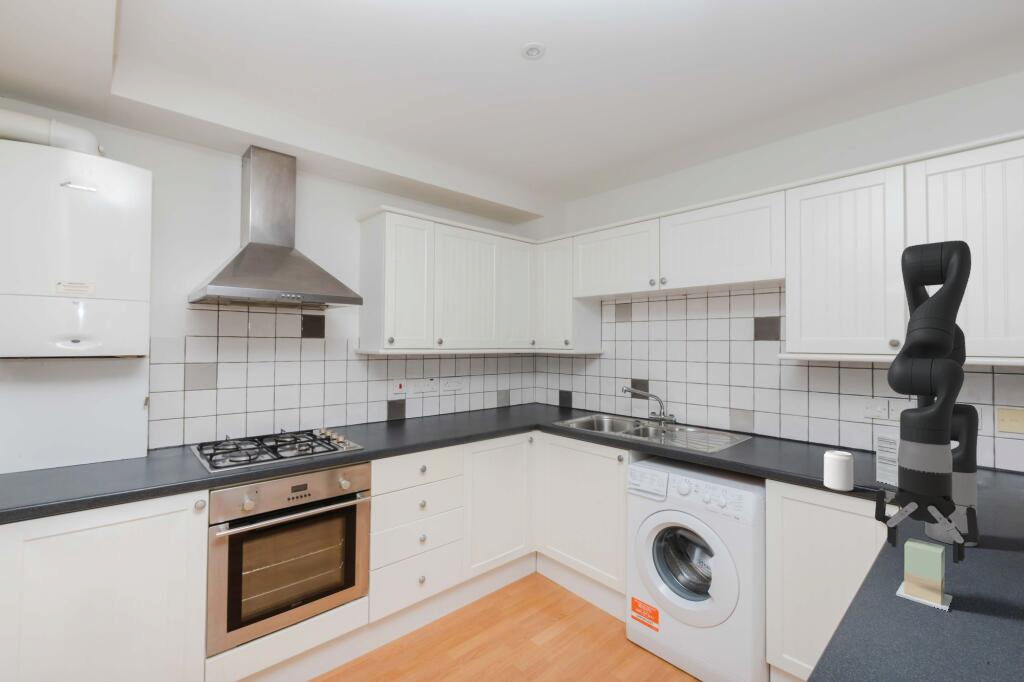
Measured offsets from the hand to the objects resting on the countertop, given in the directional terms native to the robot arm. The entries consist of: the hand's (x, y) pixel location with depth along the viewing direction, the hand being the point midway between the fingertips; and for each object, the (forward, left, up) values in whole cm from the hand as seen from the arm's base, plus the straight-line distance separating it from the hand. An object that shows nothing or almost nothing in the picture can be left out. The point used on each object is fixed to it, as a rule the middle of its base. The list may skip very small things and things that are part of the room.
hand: (924, 553), depth 86 cm
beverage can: (-72, -30, -8) cm, 78 cm away
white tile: (0, 0, -8) cm, 8 cm away
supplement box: (-97, -18, -8) cm, 99 cm away
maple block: (0, 0, -7) cm, 7 cm away
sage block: (0, 0, -3) cm, 3 cm away
